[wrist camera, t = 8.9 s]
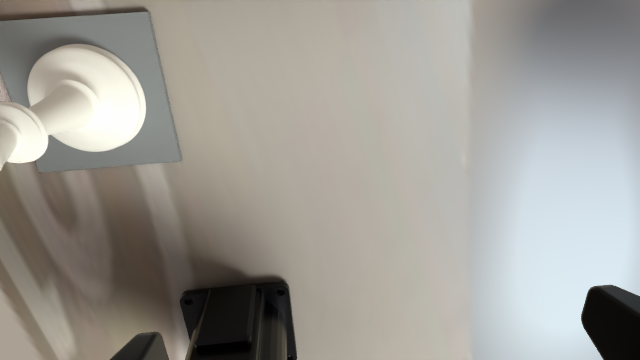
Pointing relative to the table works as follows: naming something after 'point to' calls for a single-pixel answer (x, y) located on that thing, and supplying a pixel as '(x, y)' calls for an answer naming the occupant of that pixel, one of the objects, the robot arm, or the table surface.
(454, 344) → the table surface
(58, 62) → the chess piece
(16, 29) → the pad
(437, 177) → the table surface
